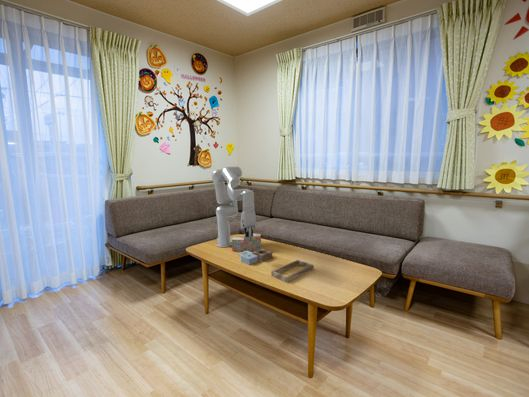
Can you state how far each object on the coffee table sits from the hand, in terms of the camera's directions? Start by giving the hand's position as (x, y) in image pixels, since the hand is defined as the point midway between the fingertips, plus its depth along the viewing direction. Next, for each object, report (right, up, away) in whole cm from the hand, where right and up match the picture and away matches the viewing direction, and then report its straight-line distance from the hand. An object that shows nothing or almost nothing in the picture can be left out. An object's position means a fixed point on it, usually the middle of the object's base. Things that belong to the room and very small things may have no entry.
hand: (249, 236), depth 184 cm
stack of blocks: (-3, -14, +25) cm, 29 cm away
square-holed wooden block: (+9, -16, +10) cm, 21 cm away
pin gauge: (0, -3, 0) cm, 3 cm away
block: (0, -18, +3) cm, 18 cm away
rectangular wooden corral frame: (+28, -20, -14) cm, 37 cm away
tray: (-3, -16, +13) cm, 21 cm away
